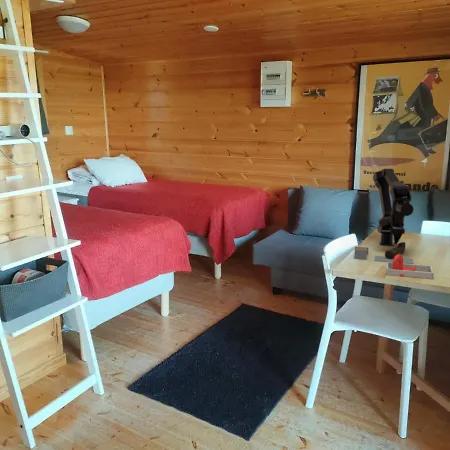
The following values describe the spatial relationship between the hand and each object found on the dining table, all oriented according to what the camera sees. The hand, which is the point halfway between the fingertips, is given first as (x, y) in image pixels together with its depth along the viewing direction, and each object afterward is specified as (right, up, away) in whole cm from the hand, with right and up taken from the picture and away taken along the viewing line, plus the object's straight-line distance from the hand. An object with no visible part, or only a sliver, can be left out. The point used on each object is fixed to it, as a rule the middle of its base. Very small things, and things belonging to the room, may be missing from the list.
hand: (395, 244), depth 211 cm
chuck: (-20, -6, -10) cm, 23 cm away
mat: (-6, -6, -14) cm, 17 cm away
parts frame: (-7, -10, -32) cm, 35 cm away
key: (-19, -5, -8) cm, 21 cm away
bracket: (-8, -11, -31) cm, 34 cm away
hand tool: (-3, -5, -6) cm, 8 cm away
